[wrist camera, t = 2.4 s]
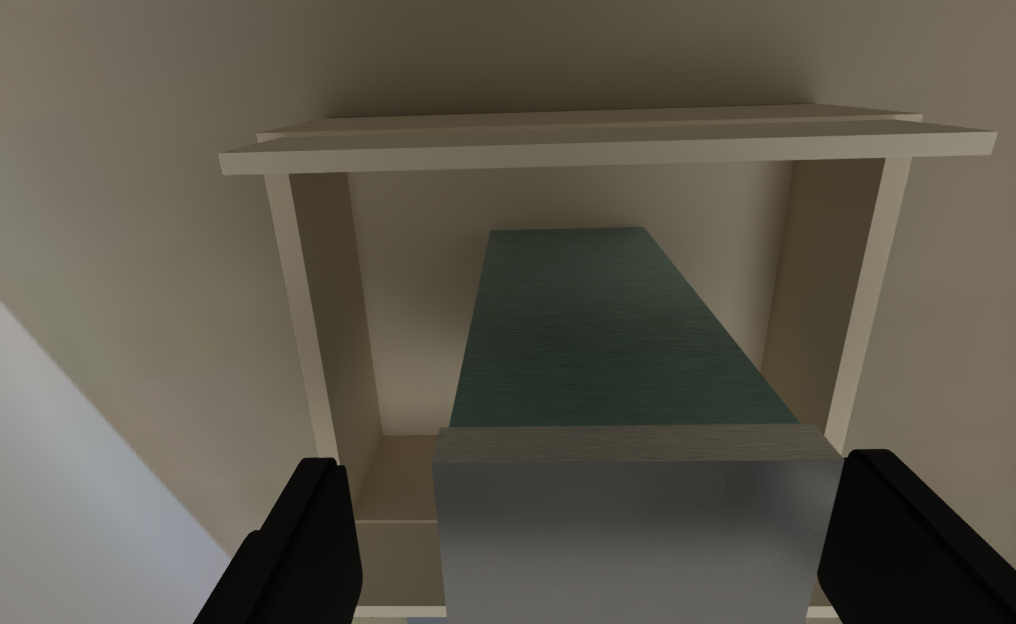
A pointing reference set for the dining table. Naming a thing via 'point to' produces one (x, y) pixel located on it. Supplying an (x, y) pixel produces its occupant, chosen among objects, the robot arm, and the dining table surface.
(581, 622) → the tin
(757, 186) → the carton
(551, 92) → the dining table surface
